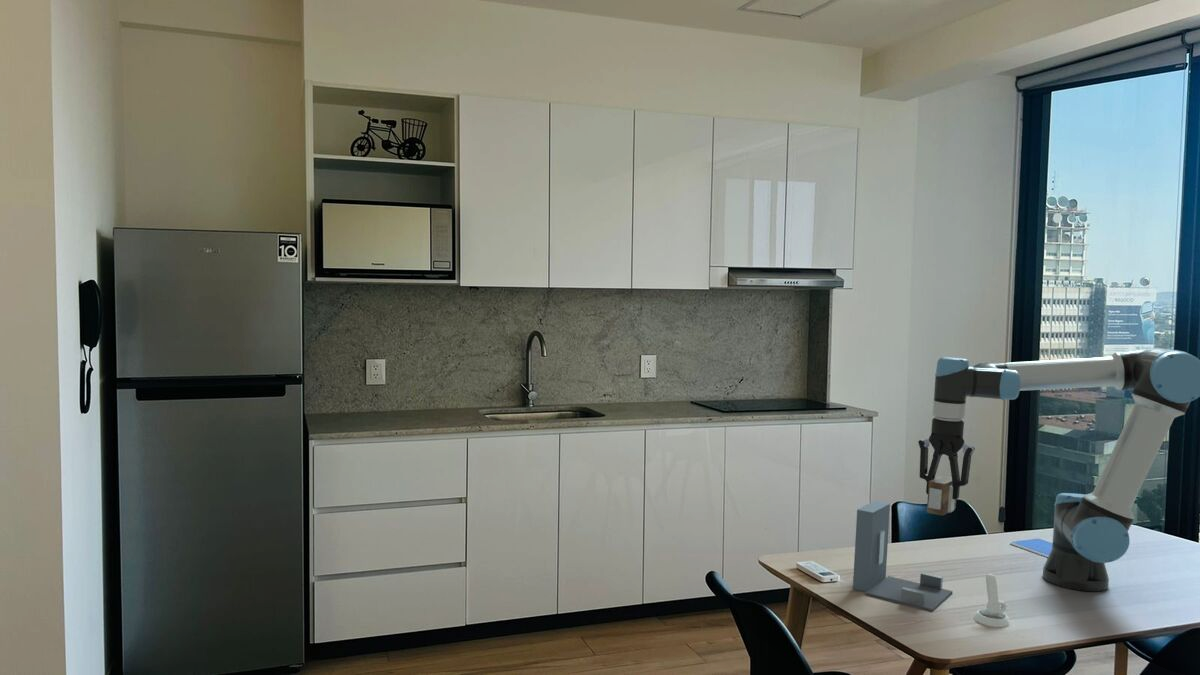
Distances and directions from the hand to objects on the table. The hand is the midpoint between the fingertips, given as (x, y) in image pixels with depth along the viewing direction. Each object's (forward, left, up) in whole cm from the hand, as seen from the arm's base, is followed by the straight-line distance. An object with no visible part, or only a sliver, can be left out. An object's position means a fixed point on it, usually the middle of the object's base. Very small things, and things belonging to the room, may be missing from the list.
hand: (941, 509), depth 224 cm
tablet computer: (-17, -51, -20) cm, 58 cm away
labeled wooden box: (0, 0, 0) cm, 0 cm away
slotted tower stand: (+5, +14, -19) cm, 24 cm away
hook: (-17, +18, -19) cm, 32 cm away
